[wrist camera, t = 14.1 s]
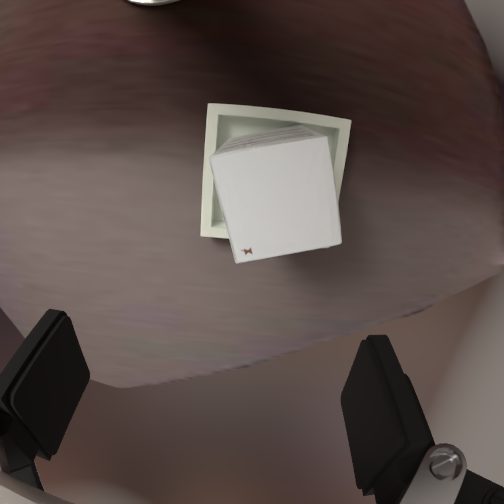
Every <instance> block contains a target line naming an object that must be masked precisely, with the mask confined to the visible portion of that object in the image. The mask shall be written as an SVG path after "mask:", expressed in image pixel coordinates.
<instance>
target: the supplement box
mask: <svg viewBox="0 0 504 504" xmlns="http://www.w3.org/2000/svg"><path fill="white" fill-rule="evenodd" d="M209 163H210V167H211V171H212V175H213V179H214V183H215V186H216V190H217V194H218V198H219V202H220V206H221V210H222V215H223V219H224V221H225V225H226V228H227V232H228V236H229V240H230V244H231V247H232V251H233V255H234V259H235V263H237V264H239V263H244V262H249V261H254V260H259V259H264V258H270V257H275V256H281V255H286V254H292V253H297V252H303V251H308V250H313V249H319V248H324V247H329V246H334V245H339V244H341V243H342V235H341V224H340V215H339V206H338V198H337V191H336V184H335V177H334V170H333V164H332V157H331V152H330V146H329V141H328V137H327V136H325V135H323V134H321V133H318V132H316V131H314V130H312V129H310V128H307V127H305V126H303V125H295V126H289V127H283V128H278V129H272V130H267V131H262V132H257V133H252V134H247V135H243V136H239V137H234V138H230V139H228V140H227V141H226V142H225V143H224V144H223V145H222V146H221V147H220V148H219V149H218V150H217V151H216V152H215V153H214V154H212V155H211V156H210V157H209Z"/></svg>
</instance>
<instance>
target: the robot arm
mask: <svg viewBox="0 0 504 504" xmlns="http://www.w3.org/2000/svg"><path fill="white" fill-rule="evenodd" d="M128 1H129V2H132V3H136V4H139V5H148V6H152V5H164V4H169V3H173V2H176V1H179V0H128ZM89 379H90V372H89V369H88V366H87V364H86V361H85V358H84V356H83V353H82V350H81V348H80V345H79V342H78V339H77V336H76V334H75V331H74V328H73V325H72V321H71V319H70V317H68V316H67V314H66V313H65V312H64V311H59V310H54V309H49V310H48V311H47V312H46V313H45V314H44V315H43V317H42V318H41V319H40V320H39V322H38V323H37V324H36V326H35V327H34V328H33V330H32V331H31V332H30V333H29V335H28V336H27V337H26V339H25V340H24V342H23V343H22V344H21V346H20V347H19V348H18V350H17V351H16V353H15V354H14V355H13V357H12V358H11V360H10V361H9V362H8V364H7V366H6V367H5V368H4V370H3V371H2V373H1V374H0V504H74V503H71V502H68V501H66V500H63V499H61V498H58V497H56V496H53V495H51V494H49V493H46V492H45V491H44V488H43V486H42V483H41V480H40V477H39V474H38V471H37V468H36V465H35V462H34V459H35V457H36V455H37V456H39V457H41V458H44V459H46V460H49V461H50V459H51V456H52V455H55V454H56V453H57V451H58V448H59V446H60V444H61V441H62V439H63V436H64V434H65V432H66V430H67V427H68V425H69V423H70V420H71V418H72V416H73V414H74V412H75V409H76V407H77V405H78V403H79V401H80V398H81V396H82V394H83V392H84V390H85V388H86V386H87V384H88V382H89ZM341 406H342V411H343V415H344V420H345V426H346V430H347V435H348V441H349V446H350V451H351V457H352V462H353V468H354V474H355V479H356V485H357V487H358V489H362V491H363V496H367V495H373V494H375V499H376V503H377V504H504V487H502V486H500V485H498V484H496V483H494V482H492V481H490V480H488V479H485V478H483V477H482V476H479V475H477V474H475V473H473V472H472V471H469V470H468V469H467V462H466V458H465V456H464V454H463V453H462V451H461V450H460V449H459V448H457V447H456V446H454V445H451V444H447V443H440V444H437V445H435V443H434V440H433V437H432V434H431V431H430V429H429V426H428V423H427V421H426V418H425V416H424V413H423V410H422V408H421V405H420V403H419V400H418V398H417V395H416V393H415V390H414V388H413V386H412V383H411V381H410V379H409V377H408V376H407V375H406V374H404V373H403V371H402V368H401V366H400V363H399V361H398V359H397V356H396V354H395V352H394V349H393V347H392V345H391V343H390V340H389V338H388V337H387V335H368V337H367V338H366V340H362V341H361V343H360V346H359V349H358V352H357V354H356V357H355V360H354V363H353V365H352V368H351V371H350V373H349V376H348V379H347V381H346V384H345V386H344V389H343V391H342V394H341Z"/></svg>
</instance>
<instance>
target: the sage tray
mask: <svg viewBox="0 0 504 504" xmlns="http://www.w3.org/2000/svg"><path fill="white" fill-rule="evenodd" d="M295 125H303V126H305V127H307V128H310V129H312V130H314V131H316V132H318V133H321V134H323V135H325V136H327V137H328V141H329V146H330V152H331V157H332V164H333V170H334V177H335V184H336V191H337V198H338V200H339V195H340V189H341V184H342V178H343V172H344V166H345V160H346V154H347V147H348V141H349V134H350V127H351V120H348V119H343V118H337V117H332V116H326V115H320V114H313V113H306V112H299V111H292V110H284V109H276V108H266V107H256V106H245V105H232V104H215V103H208V109H207V122H206V136H205V151H204V168H203V188H202V210H201V236H206V237H217V238H228V239H229V236H228V232H227V228H226V225H225V221H224V219H223V215H222V210H221V206H220V202H219V198H218V194H217V190H216V186H215V183H214V179H213V175H212V171H211V167H210V163H209V157H210V156H211V155H212V154H214V153H215V152H216V151H217V150H218V149H219V148H220V147H221V146H222V145H223V144H224V143H225V142H226V141H227V140H228V139H230V138H234V137H239V136H243V135H247V134H252V133H257V132H262V131H267V130H272V129H278V128H283V127H289V126H295ZM324 248H329V247H324Z"/></svg>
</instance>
